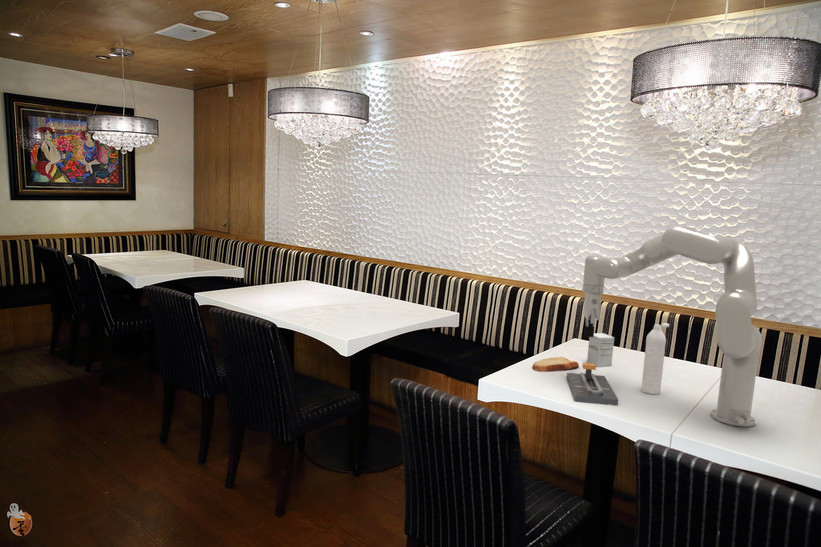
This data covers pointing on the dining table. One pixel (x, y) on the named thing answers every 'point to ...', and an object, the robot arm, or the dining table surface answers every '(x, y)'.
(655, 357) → the water bottle
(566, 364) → the bread slice
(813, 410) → the dining table surface
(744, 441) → the dining table surface
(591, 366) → the fader tab
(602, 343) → the supplement box
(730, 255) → the robot arm
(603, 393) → the console
